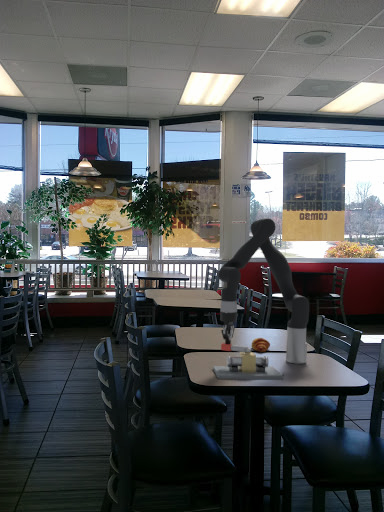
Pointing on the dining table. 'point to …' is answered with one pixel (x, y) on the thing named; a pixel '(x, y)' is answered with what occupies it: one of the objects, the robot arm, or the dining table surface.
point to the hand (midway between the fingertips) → (227, 348)
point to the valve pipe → (247, 363)
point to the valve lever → (235, 348)
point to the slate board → (225, 373)
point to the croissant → (260, 344)
